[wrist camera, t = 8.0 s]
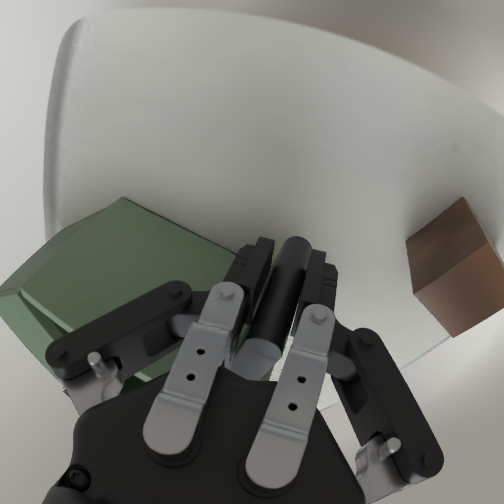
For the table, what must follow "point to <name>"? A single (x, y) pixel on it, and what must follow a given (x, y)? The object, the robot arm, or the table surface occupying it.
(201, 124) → the table surface
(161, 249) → the door
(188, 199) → the table surface
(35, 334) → the cupboard
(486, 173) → the table surface
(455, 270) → the block
